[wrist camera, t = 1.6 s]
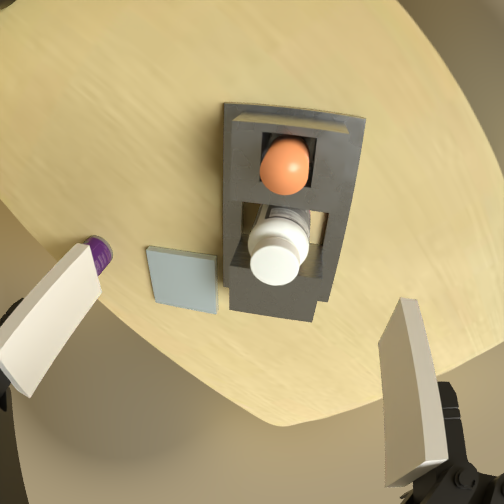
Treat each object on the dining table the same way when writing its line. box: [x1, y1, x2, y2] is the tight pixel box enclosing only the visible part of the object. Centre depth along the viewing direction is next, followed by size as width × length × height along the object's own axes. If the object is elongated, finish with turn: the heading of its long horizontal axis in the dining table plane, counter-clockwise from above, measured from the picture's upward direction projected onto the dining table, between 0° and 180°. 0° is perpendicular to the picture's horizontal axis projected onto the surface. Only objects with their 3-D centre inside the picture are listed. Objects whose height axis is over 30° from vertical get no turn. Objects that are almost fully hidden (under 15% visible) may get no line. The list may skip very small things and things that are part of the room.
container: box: [83, 236, 113, 276], centre depth 36 cm, size 5×5×15 cm
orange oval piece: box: [260, 134, 310, 195], centre depth 24 cm, size 3×3×5 cm
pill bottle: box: [248, 204, 310, 286], centre depth 30 cm, size 5×5×10 cm
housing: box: [223, 102, 366, 322], centre depth 31 cm, size 22×13×6 cm, turn 177°
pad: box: [146, 246, 218, 314], centre depth 41 cm, size 9×9×1 cm
